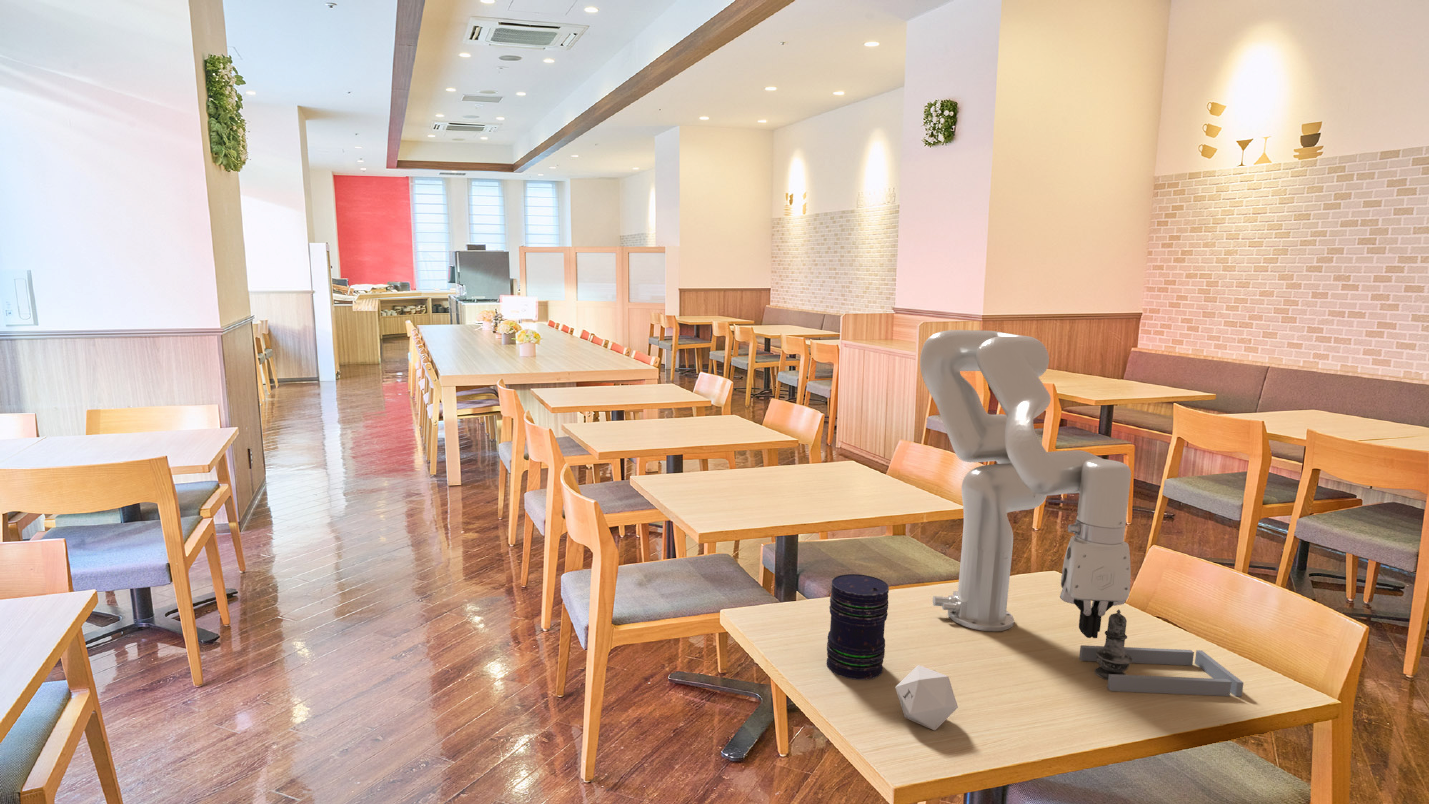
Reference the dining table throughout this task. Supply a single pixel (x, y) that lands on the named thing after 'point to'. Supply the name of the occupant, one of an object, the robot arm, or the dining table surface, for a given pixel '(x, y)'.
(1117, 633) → the dark ringed finial
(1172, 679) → the frame
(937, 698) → the die
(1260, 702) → the dining table surface
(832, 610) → the dark blue cylinder
